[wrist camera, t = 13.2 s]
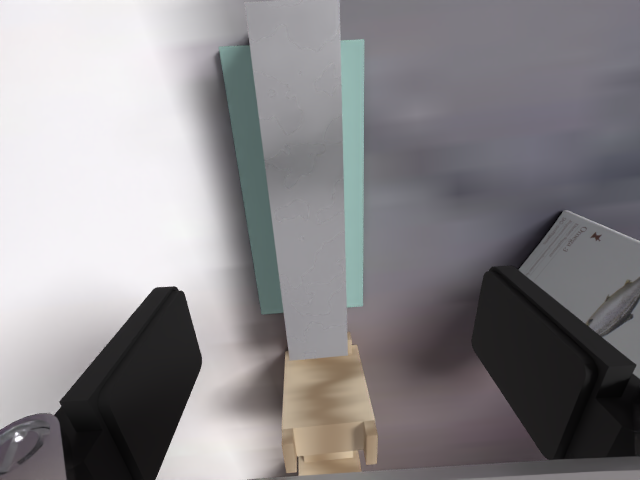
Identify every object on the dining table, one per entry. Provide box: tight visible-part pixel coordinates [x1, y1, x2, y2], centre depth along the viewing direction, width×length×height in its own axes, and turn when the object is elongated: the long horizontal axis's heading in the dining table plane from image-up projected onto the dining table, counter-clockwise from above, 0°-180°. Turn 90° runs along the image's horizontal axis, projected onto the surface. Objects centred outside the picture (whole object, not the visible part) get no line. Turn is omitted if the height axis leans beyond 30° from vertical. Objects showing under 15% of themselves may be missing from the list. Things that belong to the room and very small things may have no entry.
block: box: [244, 0, 348, 361], centre depth 19 cm, size 20×4×4 cm, turn 3°
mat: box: [219, 39, 364, 315], centre depth 21 cm, size 8×18×1 cm, turn 3°
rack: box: [282, 332, 378, 476], centre depth 27 cm, size 6×20×8 cm, turn 3°
